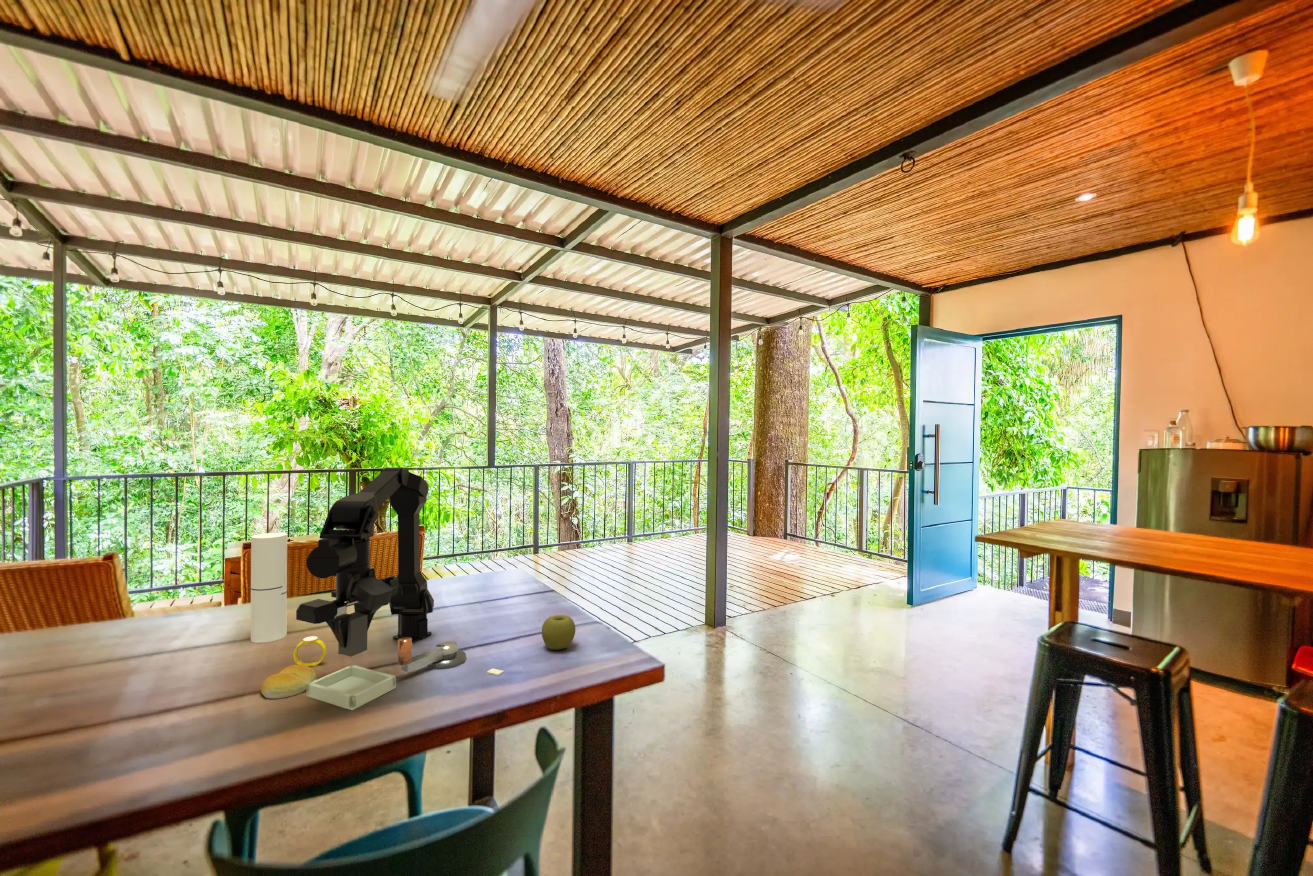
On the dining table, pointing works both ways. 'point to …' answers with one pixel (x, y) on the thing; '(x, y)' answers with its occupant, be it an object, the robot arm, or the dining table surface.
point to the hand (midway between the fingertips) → (352, 643)
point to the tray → (351, 686)
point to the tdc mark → (495, 671)
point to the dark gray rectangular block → (355, 635)
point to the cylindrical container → (268, 587)
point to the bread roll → (288, 682)
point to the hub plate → (449, 661)
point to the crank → (423, 654)
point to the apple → (558, 632)
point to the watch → (308, 641)
